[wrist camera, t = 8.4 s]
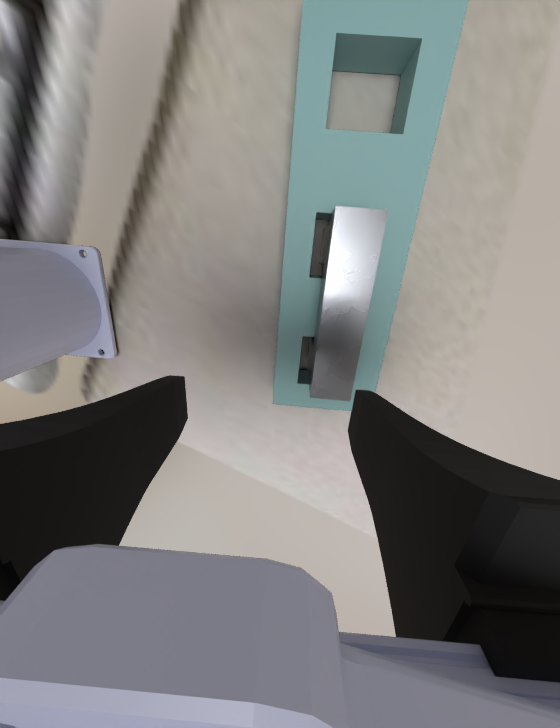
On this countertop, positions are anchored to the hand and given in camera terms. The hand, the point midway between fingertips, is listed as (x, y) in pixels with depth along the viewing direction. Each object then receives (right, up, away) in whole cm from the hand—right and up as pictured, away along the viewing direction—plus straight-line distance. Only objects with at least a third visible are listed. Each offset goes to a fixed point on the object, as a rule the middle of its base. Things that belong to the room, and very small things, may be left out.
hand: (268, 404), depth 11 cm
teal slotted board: (+4, +9, +6) cm, 12 cm away
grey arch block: (+4, +6, +7) cm, 10 cm away
